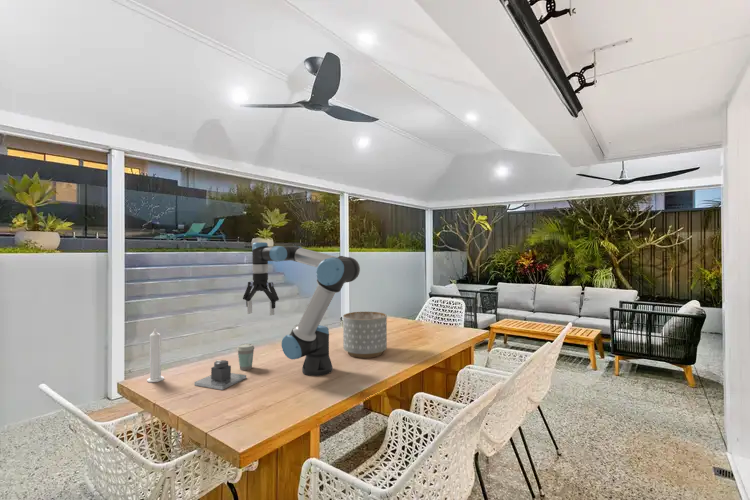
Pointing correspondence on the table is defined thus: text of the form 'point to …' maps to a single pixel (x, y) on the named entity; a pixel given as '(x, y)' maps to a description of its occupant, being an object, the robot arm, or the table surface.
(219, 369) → the knob
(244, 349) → the coffee cup
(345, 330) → the planter
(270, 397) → the table surface
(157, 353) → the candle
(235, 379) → the grey square plate
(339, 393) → the table surface
